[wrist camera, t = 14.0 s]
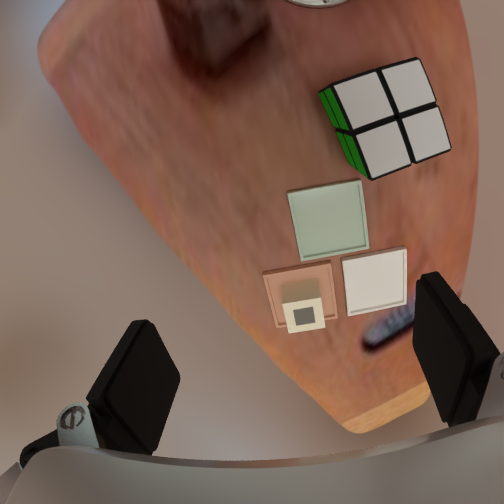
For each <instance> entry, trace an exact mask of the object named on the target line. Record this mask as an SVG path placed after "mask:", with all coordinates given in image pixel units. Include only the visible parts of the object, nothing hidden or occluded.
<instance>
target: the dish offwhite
mask: <svg viewBox="0 0 504 504" xmlns="http://www.w3.org/2000/svg"><path fill="white" fill-rule="evenodd" d="M341 261H342V269H343V278H344V287H345V296H346V307H347V314H348V316H351V315H357V314H362V313H367V312H372V311H376V310H381V309H386V308H391V307H395V306H400V305H404V304H406V296H407V249H406V247H405V246H401V247H396V248H390V249H385V250H380V251H375V252H370V253H364V254H359V255H354V256H349V257H343V258H341Z"/></svg>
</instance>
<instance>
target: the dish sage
mask: <svg viewBox="0 0 504 504" xmlns="http://www.w3.org/2000/svg"><path fill="white" fill-rule="evenodd" d="M287 195H288V200H289V204H290V209H291V214H292V219H293V223H294V228H295V233H296V238H297V243H298V248H299V253H300V258H301V261H306V260H311V259H317V258H322V257H327V256H333V255H338V254H344V253H349V252H354V251H360V250H365V249H369V241H368V231H367V221H366V213H365V204H364V197H363V189H362V182H361V180H360V179H354V180H348V181H343V182H337V183H331V184H326V185H320V186H315V187H309V188H304V189H299V190H294V191H289V192H287Z"/></svg>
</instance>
